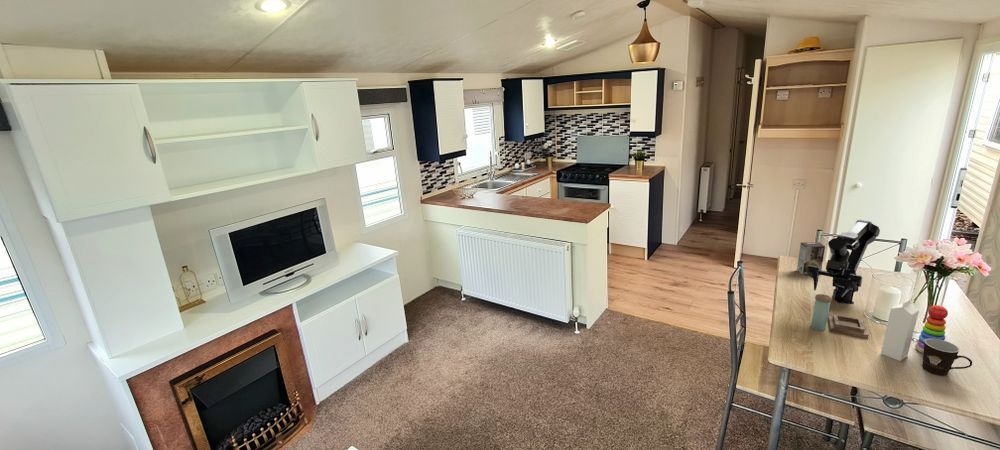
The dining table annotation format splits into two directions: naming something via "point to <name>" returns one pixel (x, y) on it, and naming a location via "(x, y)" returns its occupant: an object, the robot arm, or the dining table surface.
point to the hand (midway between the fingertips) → (827, 293)
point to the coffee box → (810, 256)
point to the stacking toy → (933, 326)
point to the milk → (899, 331)
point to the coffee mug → (940, 356)
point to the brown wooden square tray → (848, 325)
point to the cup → (820, 312)
